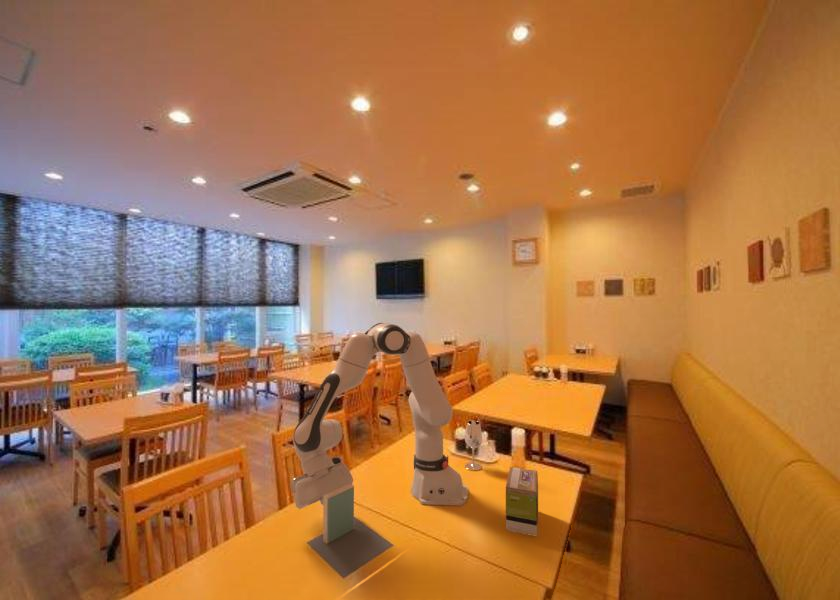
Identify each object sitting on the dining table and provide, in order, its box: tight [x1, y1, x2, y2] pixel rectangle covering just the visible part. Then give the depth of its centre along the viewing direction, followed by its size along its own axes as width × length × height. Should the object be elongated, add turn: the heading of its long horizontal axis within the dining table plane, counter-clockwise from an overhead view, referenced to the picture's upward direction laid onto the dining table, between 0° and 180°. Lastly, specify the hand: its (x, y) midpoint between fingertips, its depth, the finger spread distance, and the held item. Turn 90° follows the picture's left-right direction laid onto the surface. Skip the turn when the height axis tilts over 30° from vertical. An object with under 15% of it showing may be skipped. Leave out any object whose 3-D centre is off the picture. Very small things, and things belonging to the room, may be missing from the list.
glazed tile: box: [322, 483, 355, 544], centre depth 112 cm, size 2×10×14 cm, turn 136°
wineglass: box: [464, 420, 483, 471], centre depth 160 cm, size 8×8×20 cm
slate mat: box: [306, 516, 394, 579], centre depth 108 cm, size 20×18×1 cm
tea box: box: [505, 466, 539, 537], centre depth 121 cm, size 15×10×15 cm
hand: (333, 509), depth 115 cm, fingers closed
